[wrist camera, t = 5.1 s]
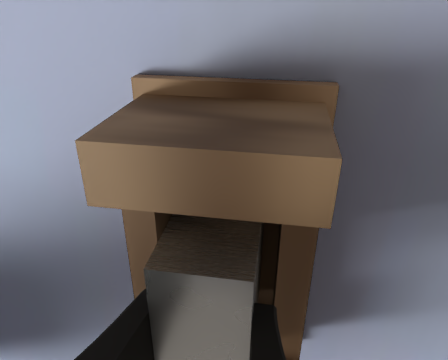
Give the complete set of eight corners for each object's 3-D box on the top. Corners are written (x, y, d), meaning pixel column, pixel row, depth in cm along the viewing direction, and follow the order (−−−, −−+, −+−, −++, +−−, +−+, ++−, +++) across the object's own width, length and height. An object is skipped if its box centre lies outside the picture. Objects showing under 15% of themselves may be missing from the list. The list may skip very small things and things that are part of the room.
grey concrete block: (198, 282, 18) (159, 403, 13) (194, 173, 15) (143, 269, 10) (259, 290, 18) (246, 418, 12) (267, 178, 15) (253, 282, 10)
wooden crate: (161, 321, 21) (121, 425, 16) (136, 74, 14) (56, 117, 9) (299, 340, 19) (302, 458, 15) (336, 82, 13) (364, 136, 8)
